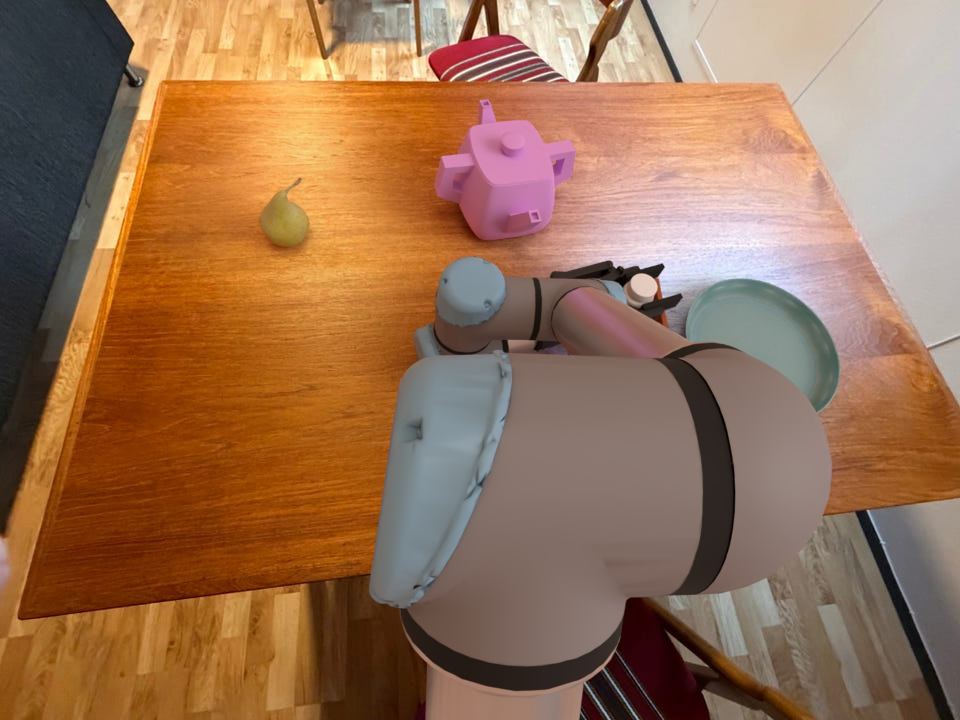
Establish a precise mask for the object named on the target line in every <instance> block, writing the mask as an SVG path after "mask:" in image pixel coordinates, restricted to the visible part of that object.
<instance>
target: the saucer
mask: <svg viewBox="0 0 960 720" xmlns="http://www.w3.org/2000/svg"><path fill="white" fill-rule="evenodd" d="M685 338H686V339H688V340H690V341H691V342H693V343H695V342H707V341H709V342H719V343H723V344H727V345H730V346H732V347H735V348H737V349H739V350H741V351H743V352H745V353H747V354H749V355H750V356H753V357H755V358H757V359H759V360H761V361H763V362H764V363H766V364H768V365H769V366H771V367H773V368H774V369H776V370H777V371H779V372H780V373H781V374H783V375H784V376H785V377H787V378H788V379H789V380H791V381H792V382H793V383H794V384H795V385H796V386H797V387H798V388H799V389H800V391H801V392H802V393H803V394H804V395H805V396H806V397H807V398H808V400H809V401H810V403H811V404H812V406H813V407H814V409H815V411H816V413H817V415H819V414H820V413H821V412H823V410H825V409H826V408H827V407H828V406H829V405H830V404H831V402H832V401H833V399H834V398H835V395H836V394H837V391H838V390H839V389H838V388H839V385H840V381H841V361H840V356H839V352H838V348H837V346H836V342H835V341H834V338H833V336H832V334H831V333H830V330H828V328H827V326H826V325H825V323H824V322H823V320H822V319H821V318H820V317H819V316H818V315H817V313H815V311H814V310H813V309H812V308H810V306H809V305H808V304H806V303H805V302H804V301H802V300H801V299H800V298H799V297H797V296H795V295H794V294H792V292H789V291H788V290H786V289H783V288H782V287H779V286H777V285H775V284H772V283H769V282H766V281H763V280H759V279H753V278H740V277H739V278H729V279H725V280H721V281H718V282H715V283H713V284H711V285H709V286H708V287H705V289H704V290H702V291H701V292H700V293H699V294H698V295H697V296H696V298H695V299H694V300H693V302H692V304H691V306H690V308H689V310H688V311H687V317H686V321H685Z"/></svg>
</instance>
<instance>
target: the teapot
mask: <svg viewBox="0 0 960 720" xmlns="http://www.w3.org/2000/svg"><path fill="white" fill-rule="evenodd" d="M576 153H577V150H576V147H575V146H574V144H573V142H572V140H571V139H565V140H559V141H554V142H547V143H545V141H544V140H543V138H542V136H541V134H540V133H539V131H538V130H537V128H536V127H535V126H534V125H533V124H532V123H531V122H530V121H529V120H526V119H514V120H504V121H503V120H502V121H497V118H496V115H495V113H494V110H493V105H492V103H491V101H490V100H489V99H480V100H479V101H478V123H477V125H476V124H475V125H473V126H470V127H469V129H468V130H467V132H466V134H465V136H464V137H463V140H462V141H461V143H460V145H459V148H458V151H457V154H447V155H441V156H440V160H439V165H438V167H437V172H436V176H435V180H434V182H433V185H434V190H435V193H436V197H438V198H440V199H443V200H447V201H449V202H452V203H454V204H458V206H459V208H460V210H461V212H462V215H463V217H464V219H465V221H466V223H467V224H468V226H469V228H470V229H471V231H472V232H473V234H474V235H475V236H476V237H477V238H478V239H480V240H483V241H496V240H503V239H504V240H505V239H512V238H516V237H523V236H527V235H531V234H536V233H538V232H540V231H541V230H543V229H544V228H546V227H547V225H549V223H550V222H551V220H552V216H553V212H554V207H555V196H556V191H555V190H556V187H557V186H559V185H561V184H562V183H564V182H566V181H568V180H570V179H571V178H572V177H573V172H574V165H575V161H576V160H575V159H576ZM552 162H555V163H554V164H553V163H552Z"/></svg>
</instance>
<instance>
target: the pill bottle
mask: <svg viewBox="0 0 960 720" xmlns="http://www.w3.org/2000/svg"><path fill="white" fill-rule="evenodd" d="M656 292H657V283H656V281H655V280H654V279H653V278H652V277H651V276H649V275H647V274H637V275H635V276H633V277H632V279H631V280H630V281H629V282H627V283H626V284H625V285H624V286H623V293H625V296H626V299H627V305H628V306H630V307H631V308H633V309H635V310H639V308H640V307H641V306H642V304H646V303H649V302H652V301H653V299H654V295H655V293H656Z"/></svg>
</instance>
